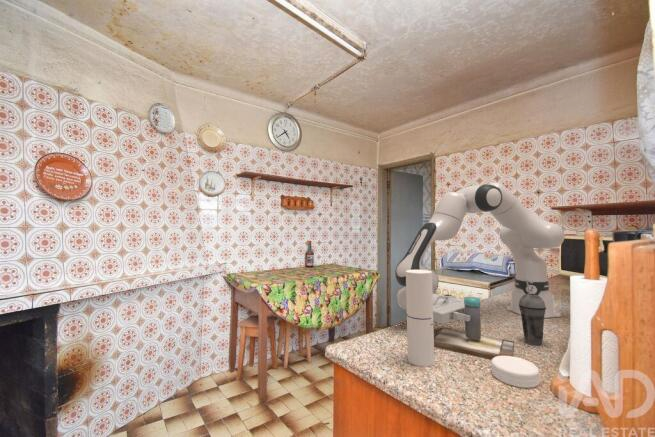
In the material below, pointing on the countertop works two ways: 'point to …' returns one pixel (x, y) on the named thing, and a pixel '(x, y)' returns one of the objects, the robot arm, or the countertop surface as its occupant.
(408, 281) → the cylindrical container
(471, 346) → the clipboard
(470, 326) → the bottle
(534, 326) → the beverage cup
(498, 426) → the countertop surface
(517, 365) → the coaster
